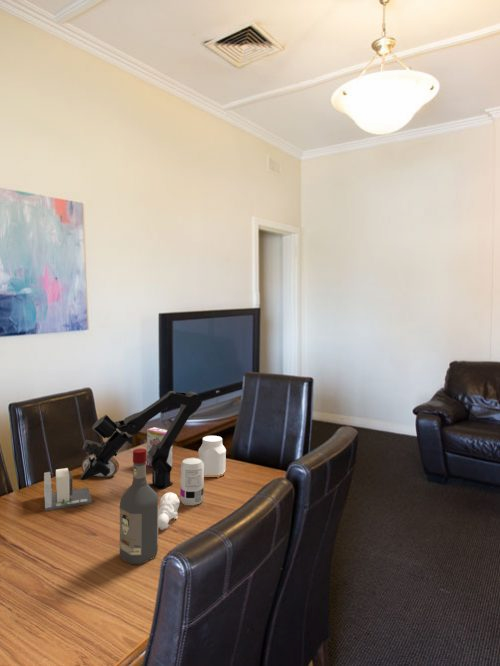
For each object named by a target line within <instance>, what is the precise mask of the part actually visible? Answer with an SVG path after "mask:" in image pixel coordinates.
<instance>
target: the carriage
mask: <svg viewBox="0 0 500 666" xmlns="http://www.w3.org/2000/svg"><path fill="white" fill-rule="evenodd" d="M72 490H73V475H72V472H71V471H69V468H68V467H65V468H58V469H55V493H56V498H57V503H60V502H63V503H64V502H66V501H69V496H70V495H72Z"/></svg>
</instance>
